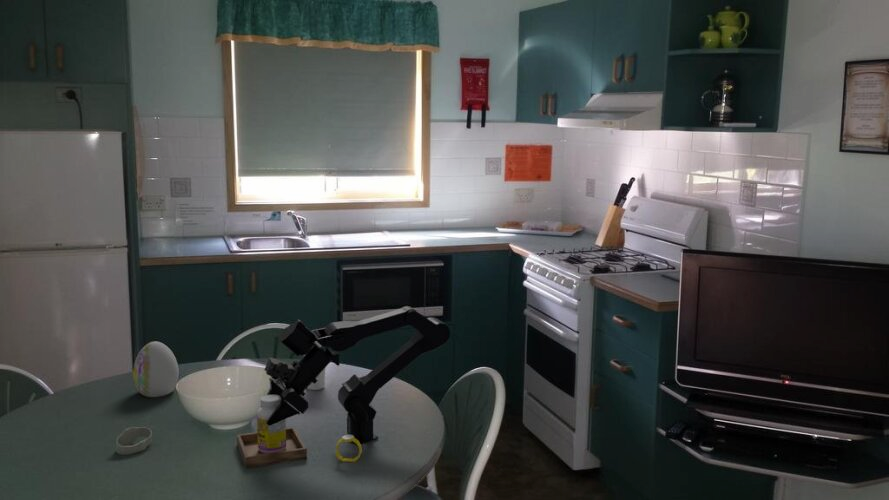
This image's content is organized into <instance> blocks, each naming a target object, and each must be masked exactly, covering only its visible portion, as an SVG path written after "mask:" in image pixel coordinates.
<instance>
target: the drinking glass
mask: <svg viewBox="0 0 889 500" xmlns="http://www.w3.org/2000/svg"><path fill="white" fill-rule="evenodd" d="M315 343H316V344H317V345H318V346H320V347H321V345H320V344H319V343H318V342H317V341H315ZM303 356H304V355H303ZM303 356H302V357H303ZM325 375H326V368H325V369H324V370H323V371H322V372H321V373H320V374H319V375H318V376H317V378H316V379H317V382H316V383H315V384H314V383H313V382H312V383H311V384H310V385H309V386H308V388H307V389H306V390H310V391H319V390H322V389H324V388H325V386H326V385H325V384H326V382H325V378H326V376H325Z"/></svg>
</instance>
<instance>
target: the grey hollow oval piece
mask: <svg viewBox="0 0 889 500" xmlns="http://www.w3.org/2000/svg"><path fill="white" fill-rule="evenodd" d="M142 437H145V439H142V440H141V441H138V442H137V443H135V444H133V443H134V442H135V441H136V440H137V439H138V438H142ZM115 441H116V444H115V445H116V446H115V451H116V453H118V454H119V455H123V456H125V455H131V454H135V453H138V452H141V451H145V450H146V449H147V447H149V446H150V445H151V444H152V441H153V431H152V430H151V428H149V427H144V426H136V427H134V426H130V427H128V428H126V429H123V431H122V432H121V433H120V434H119V435H118V437H116V440H115Z"/></svg>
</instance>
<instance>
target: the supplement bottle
mask: <svg viewBox="0 0 889 500" xmlns="http://www.w3.org/2000/svg"><path fill="white" fill-rule="evenodd" d="M260 405H262V407H261V406H260V407H261V408H258V409H257V412H256V425H257V426H256V428H257V429H256V430H257V431H256V432H257V435H258V450H259V451H260V452H262V453H265V454H266V453H273V452H279V451H283V450H285V448H286V428H287V421H286V419H287V418H286V419H284V420H282V421H279V422H277V423H275V424H273V425H271V426H269V425H268V424H267V423H266V422H267V421H268V419H269V417H270V416H271V415H272V413H273V412H274V410H275V409H276V407H277V406H278V405H279V396H278V395H267V394H266V395H263V396H261V397H260Z"/></svg>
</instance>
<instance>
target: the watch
mask: <svg viewBox="0 0 889 500" xmlns="http://www.w3.org/2000/svg"><path fill="white" fill-rule="evenodd" d="M351 441H353V442H355V443H356V444H355V445H357V446H358V450H359V452H358V455H356V456H355V457H354V458H352V457H351V458H348V457H343V456H342V455H341V454H340V453H339V450H338V449H339V445H340V443H342V442H344V443H352V442H351ZM362 451H363V449H362V444H360V442H359V441H358V440H357V439H355V438H354V436H353V435H347V434H344V435H342V437H341V438H340V439H339V440H338V441H337V443H336V445H335V455H336V458H337V459H338V460H339V461H341V462H343V463H344V462H345V463H346V462H353V463H355V462H356V461H358V460H359V459H360V457H361V456H362V455H361V454H362Z"/></svg>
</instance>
